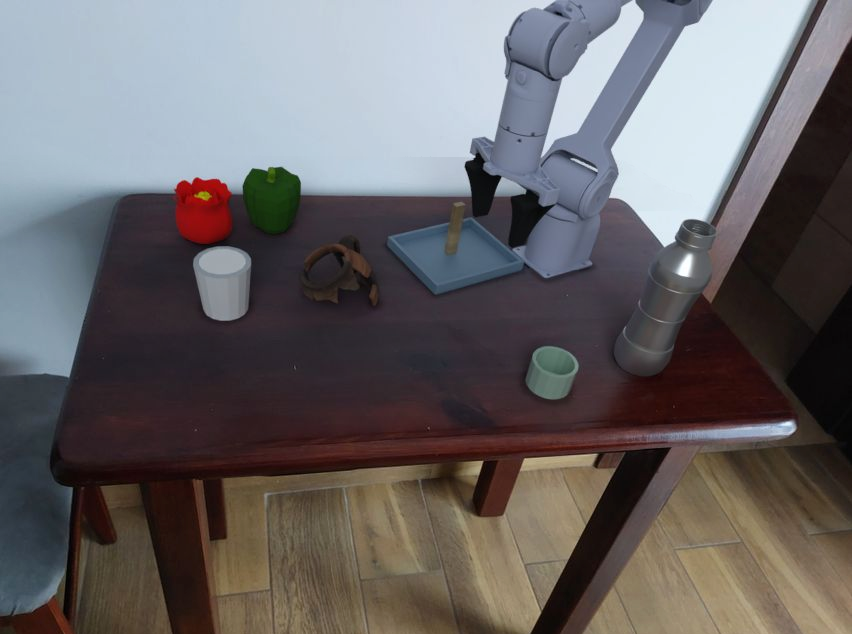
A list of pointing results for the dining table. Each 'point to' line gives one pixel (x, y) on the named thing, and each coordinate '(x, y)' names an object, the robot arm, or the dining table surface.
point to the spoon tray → (454, 256)
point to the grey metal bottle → (666, 299)
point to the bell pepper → (272, 198)
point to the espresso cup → (551, 372)
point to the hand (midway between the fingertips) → (497, 229)
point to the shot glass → (223, 281)
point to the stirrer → (454, 228)
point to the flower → (203, 210)
